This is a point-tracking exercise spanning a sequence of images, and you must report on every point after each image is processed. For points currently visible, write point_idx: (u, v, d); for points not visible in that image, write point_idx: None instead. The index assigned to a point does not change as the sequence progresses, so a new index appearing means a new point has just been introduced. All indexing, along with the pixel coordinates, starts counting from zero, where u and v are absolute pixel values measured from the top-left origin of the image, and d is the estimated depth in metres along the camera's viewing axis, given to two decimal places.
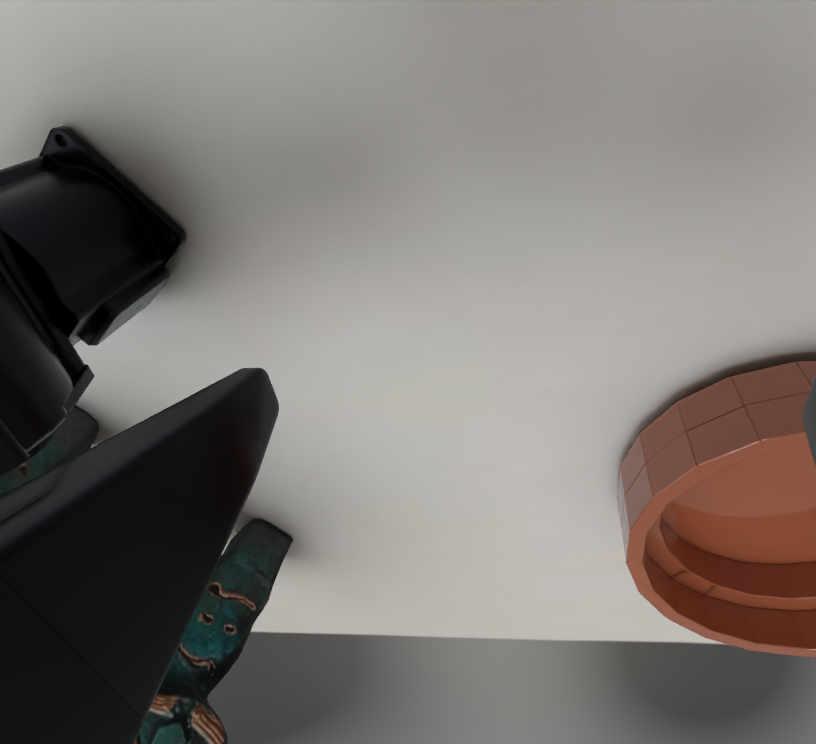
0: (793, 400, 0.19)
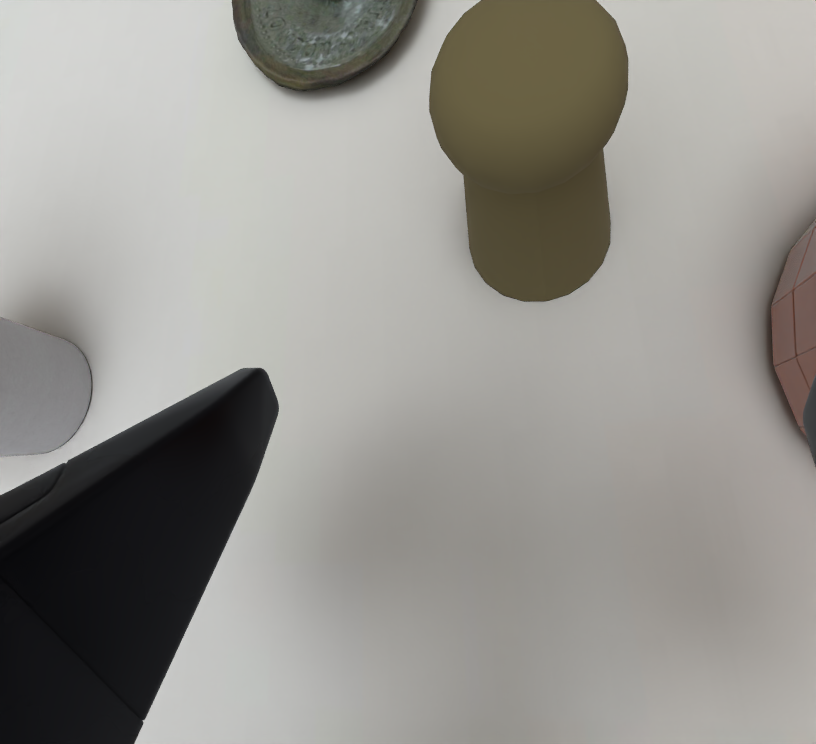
0: (809, 377, 0.17)
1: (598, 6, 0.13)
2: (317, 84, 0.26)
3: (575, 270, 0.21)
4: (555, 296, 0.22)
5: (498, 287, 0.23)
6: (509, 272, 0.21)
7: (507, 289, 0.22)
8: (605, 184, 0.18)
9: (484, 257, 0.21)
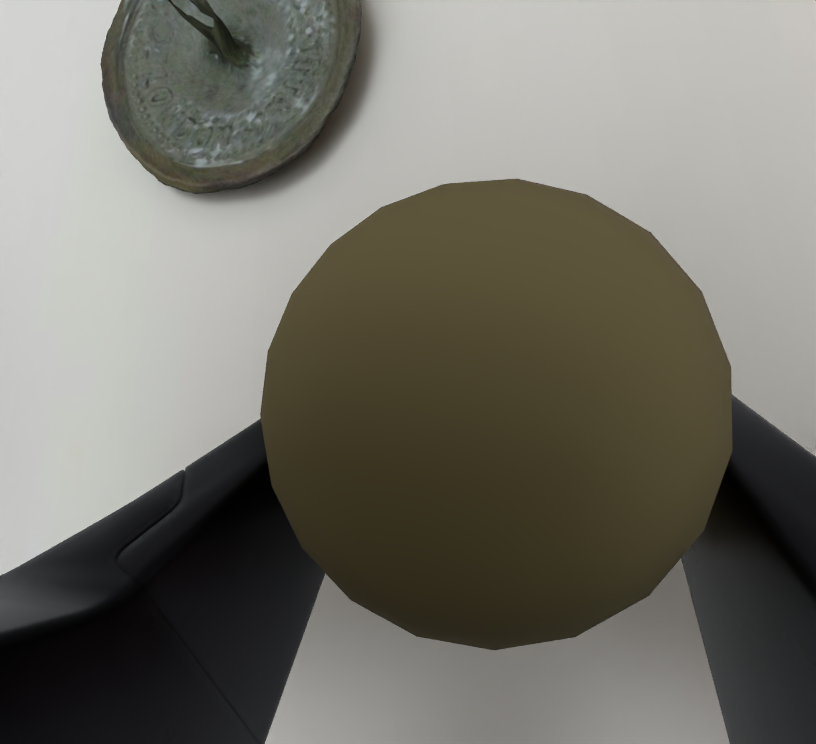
0: None
1: (663, 277, 0.05)
2: (211, 188, 0.18)
3: None
4: None
5: None
6: None
7: None
8: None
9: None
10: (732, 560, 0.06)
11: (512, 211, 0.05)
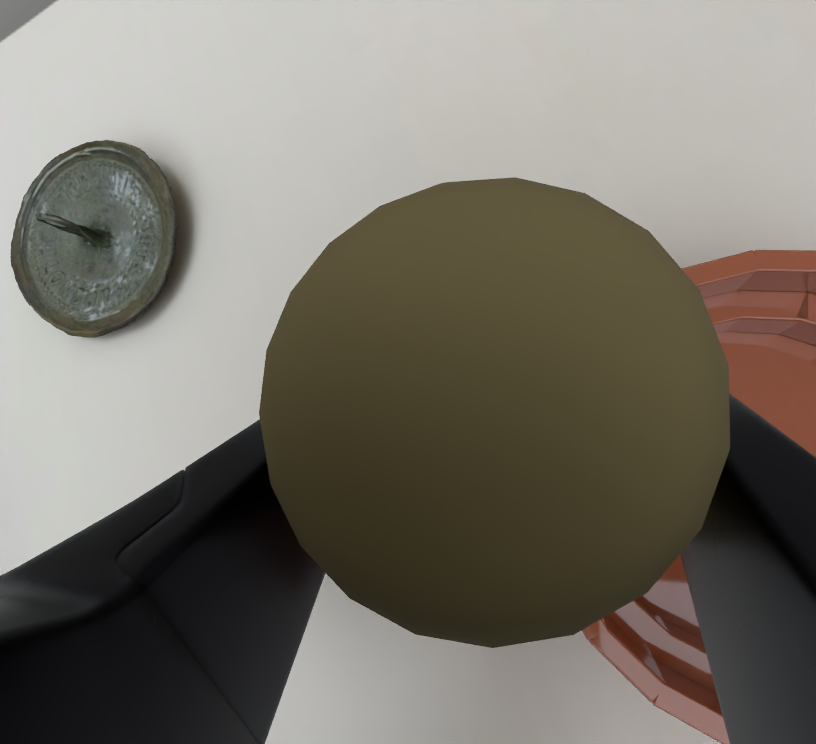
0: None
1: (661, 275, 0.05)
2: (104, 332, 0.27)
3: None
4: None
5: None
6: None
7: None
8: None
9: None
10: (732, 560, 0.06)
11: (510, 209, 0.05)
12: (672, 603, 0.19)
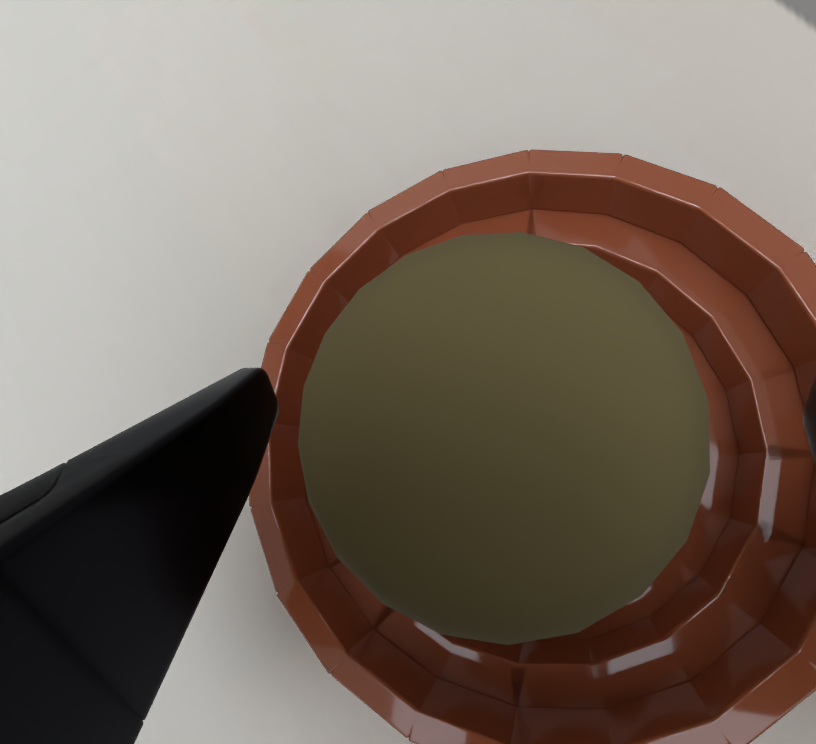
0: None
1: (649, 325, 0.06)
2: None
3: None
4: None
5: None
6: None
7: None
8: None
9: None
10: None
11: (519, 267, 0.06)
12: None
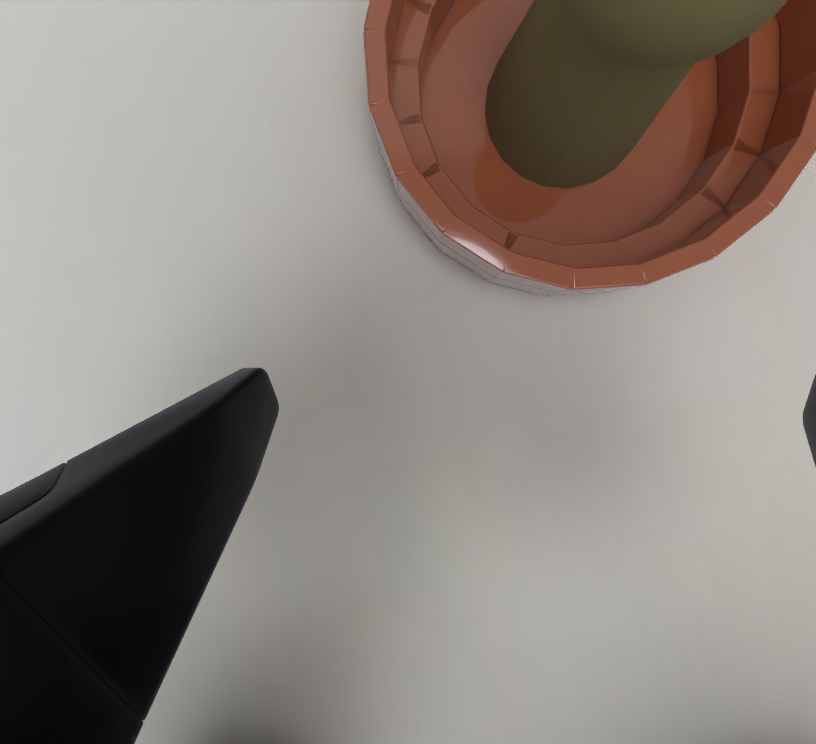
0: (382, 147, 0.18)
1: None
2: None
3: (592, 167, 0.18)
4: (554, 185, 0.20)
5: (503, 149, 0.19)
6: (527, 140, 0.18)
7: (511, 156, 0.19)
8: None
9: (508, 108, 0.17)
10: None
11: None
12: (481, 205, 0.20)
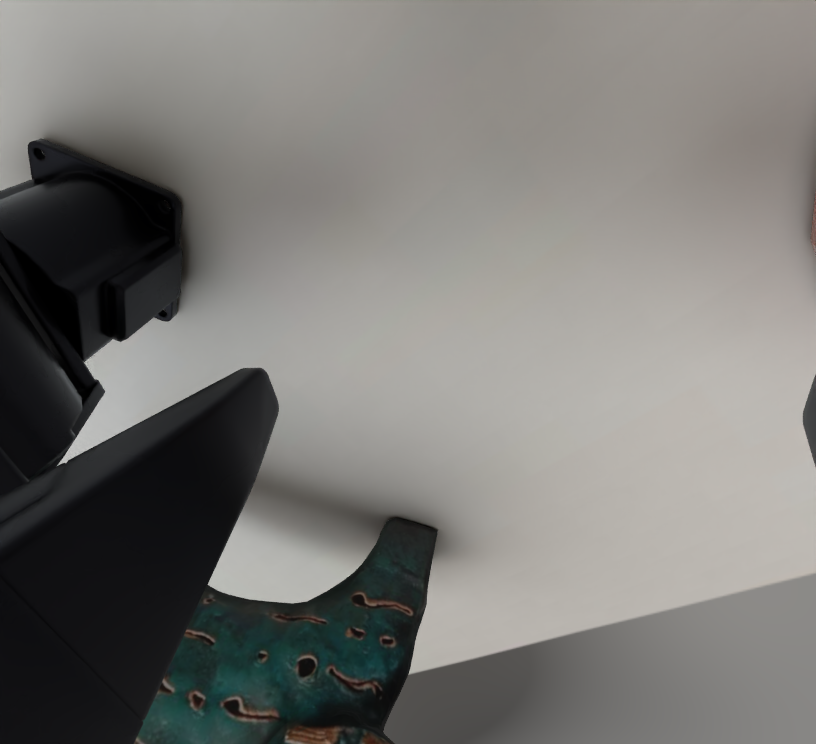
0: None
1: None
2: None
3: None
4: None
5: None
6: None
7: None
8: None
9: None
10: None
11: None
12: None
